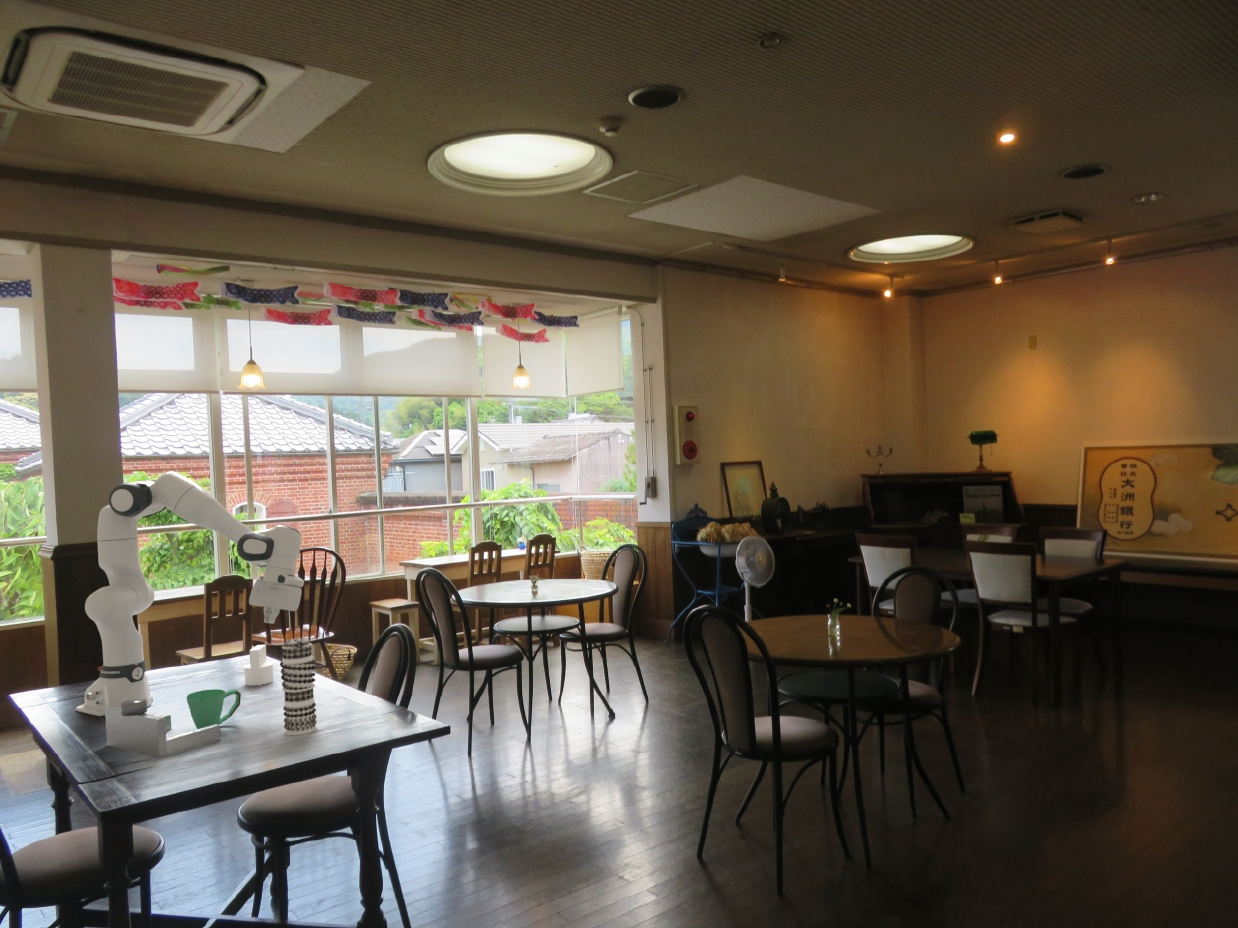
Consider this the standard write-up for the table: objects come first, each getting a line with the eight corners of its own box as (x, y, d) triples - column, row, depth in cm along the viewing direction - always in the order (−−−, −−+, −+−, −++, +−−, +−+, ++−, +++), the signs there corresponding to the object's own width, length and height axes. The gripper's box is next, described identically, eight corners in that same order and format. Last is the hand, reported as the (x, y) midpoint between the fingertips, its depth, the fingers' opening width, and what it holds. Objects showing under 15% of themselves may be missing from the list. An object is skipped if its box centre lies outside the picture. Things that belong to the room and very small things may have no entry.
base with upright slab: (249, 680, 313) (248, 645, 313) (276, 678, 314) (274, 643, 314) (241, 686, 304) (240, 651, 304) (269, 684, 305) (267, 649, 305)
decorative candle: (303, 736, 244) (299, 644, 244) (275, 733, 247) (271, 642, 247) (325, 726, 253) (321, 637, 252) (298, 724, 256) (294, 636, 256)
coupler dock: (167, 727, 257) (165, 682, 257) (220, 739, 244) (218, 691, 244) (99, 747, 241) (96, 698, 241) (151, 761, 228) (149, 709, 228)
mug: (196, 736, 248) (195, 700, 248) (182, 730, 255) (180, 694, 254) (249, 723, 259) (247, 688, 259) (233, 717, 265) (232, 683, 265)
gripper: (249, 574, 281) (239, 618, 278) (290, 578, 270) (280, 625, 267) (266, 577, 286) (257, 620, 283) (307, 581, 275) (298, 627, 272)
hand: (268, 623), depth 275 cm, fingers closed
